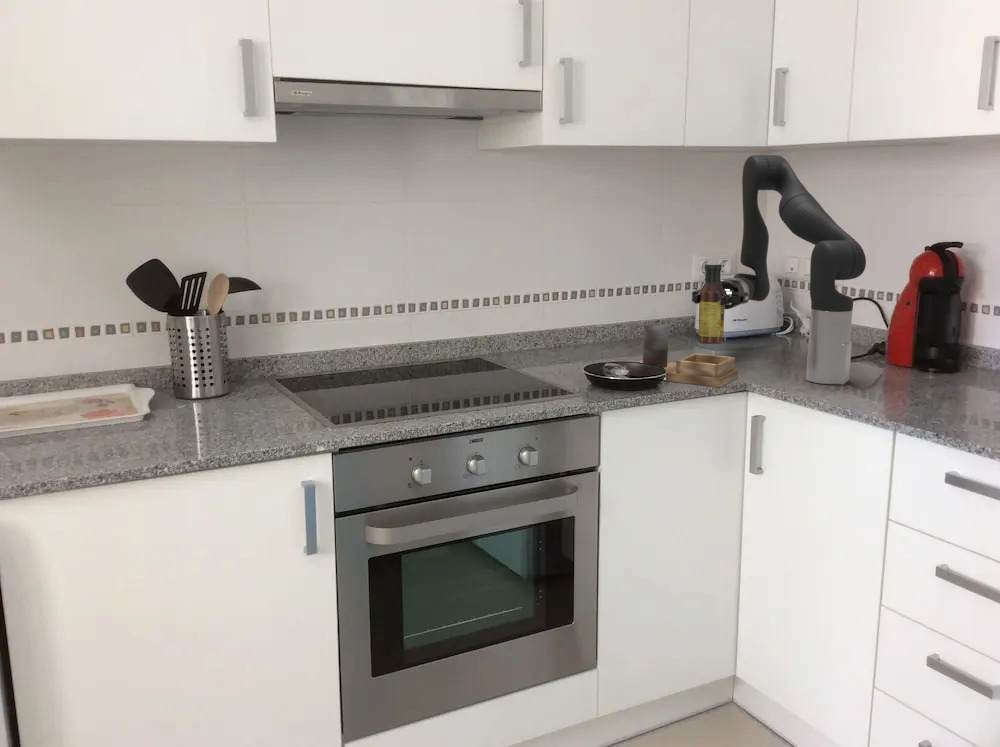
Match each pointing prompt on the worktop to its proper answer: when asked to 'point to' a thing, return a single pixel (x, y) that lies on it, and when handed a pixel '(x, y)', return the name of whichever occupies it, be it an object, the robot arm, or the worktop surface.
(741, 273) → the robot arm
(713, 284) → the sauce bottle
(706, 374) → the condiment caddy
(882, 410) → the worktop surface
